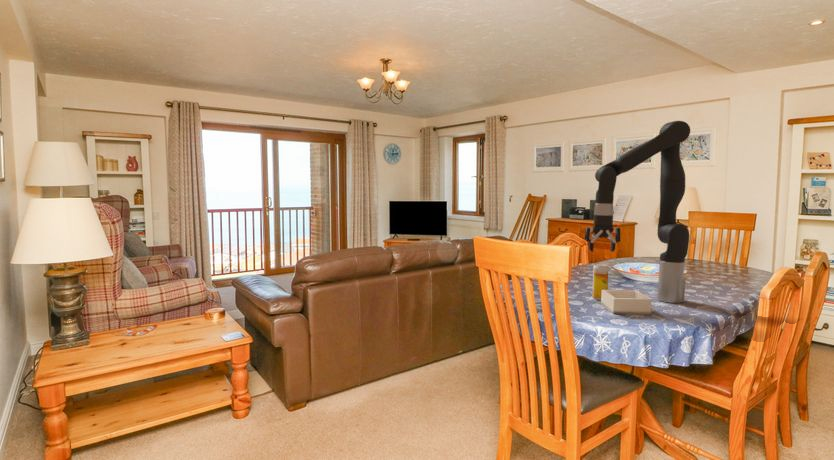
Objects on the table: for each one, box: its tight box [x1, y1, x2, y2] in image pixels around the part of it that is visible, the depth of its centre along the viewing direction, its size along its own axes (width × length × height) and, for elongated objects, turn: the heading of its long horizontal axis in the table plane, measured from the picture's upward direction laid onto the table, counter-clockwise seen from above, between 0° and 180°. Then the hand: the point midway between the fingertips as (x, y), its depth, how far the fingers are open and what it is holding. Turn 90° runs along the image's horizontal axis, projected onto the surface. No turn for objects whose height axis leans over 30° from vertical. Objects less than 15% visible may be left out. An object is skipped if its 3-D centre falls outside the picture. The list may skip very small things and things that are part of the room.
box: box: [600, 289, 652, 316], centre depth 181 cm, size 14×14×6 cm
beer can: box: [591, 263, 610, 301], centre depth 196 cm, size 6×6×15 cm
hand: (601, 251), depth 194 cm, fingers open, 8 cm apart
